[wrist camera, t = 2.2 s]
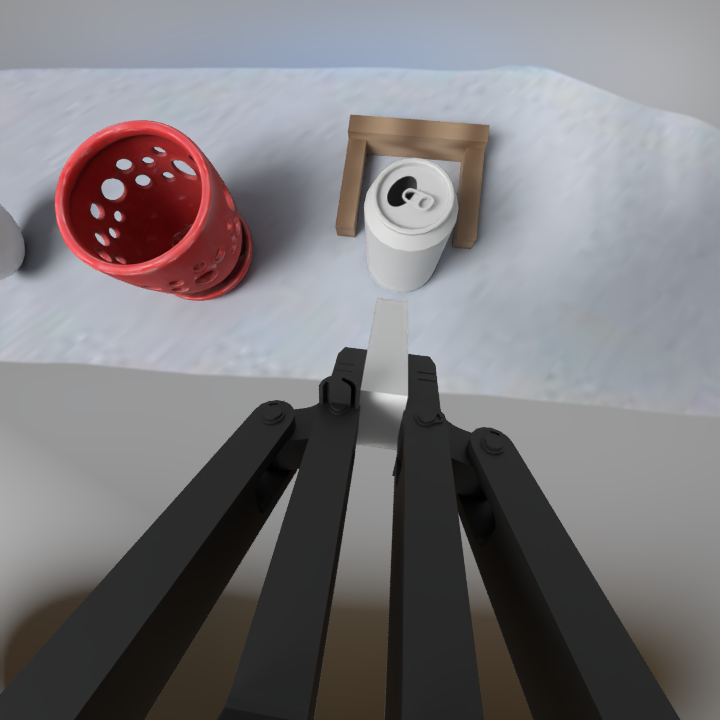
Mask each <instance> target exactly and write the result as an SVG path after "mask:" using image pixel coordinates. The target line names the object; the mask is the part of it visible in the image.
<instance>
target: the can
mask: <svg viewBox="0 0 720 720" xmlns="http://www.w3.org/2000/svg"><path fill="white" fill-rule="evenodd" d="M458 209H459V207H458V201H457V194H456V192H455V191H454V185H453V183H452V181H451V179H450V177H449V175H448V173H446V172H445V171H444V170H443V169H442V168H441V167H440V166H439V165H437V164H435V163H433V162H431V161H429V160H427V159H420V158H407V159H401V160H399V161H396V162H394V163H392V164H390V165H389V166H387V167H386V168H385V169H384V170H383V171H382V172H380V174H379V176H378V177H377V179H376V180H375V181H374V182H373V184H372V185H371V187H370V189H369V190H368V192H367V195H366V199H365V203H364V215H365V233H366V250H367V263H368V269H369V272H370V274H371V276H372V278H373V279H374V280H375V281H376V282H377V283H378V284H379V285H380V286H382V287H383V288H385V289H387V290H389V291H394V292H399V293H402V292H410V291H413V290H415V289H418V288H420V287H421V286H423V285H424V284H425V283H426V282H427V281H428V280H429V279H430V277H431V275H432V274H433V272H434V270H435V268H436V265H437V263H438V261H439V259H440V256H441V254H442V252H443V250H444V248H445V245H446V243H447V241H448V239H449V236H450V234H451V232H452V230H453V227H454V225H455V223H456V219H457V214H458Z"/></svg>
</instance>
